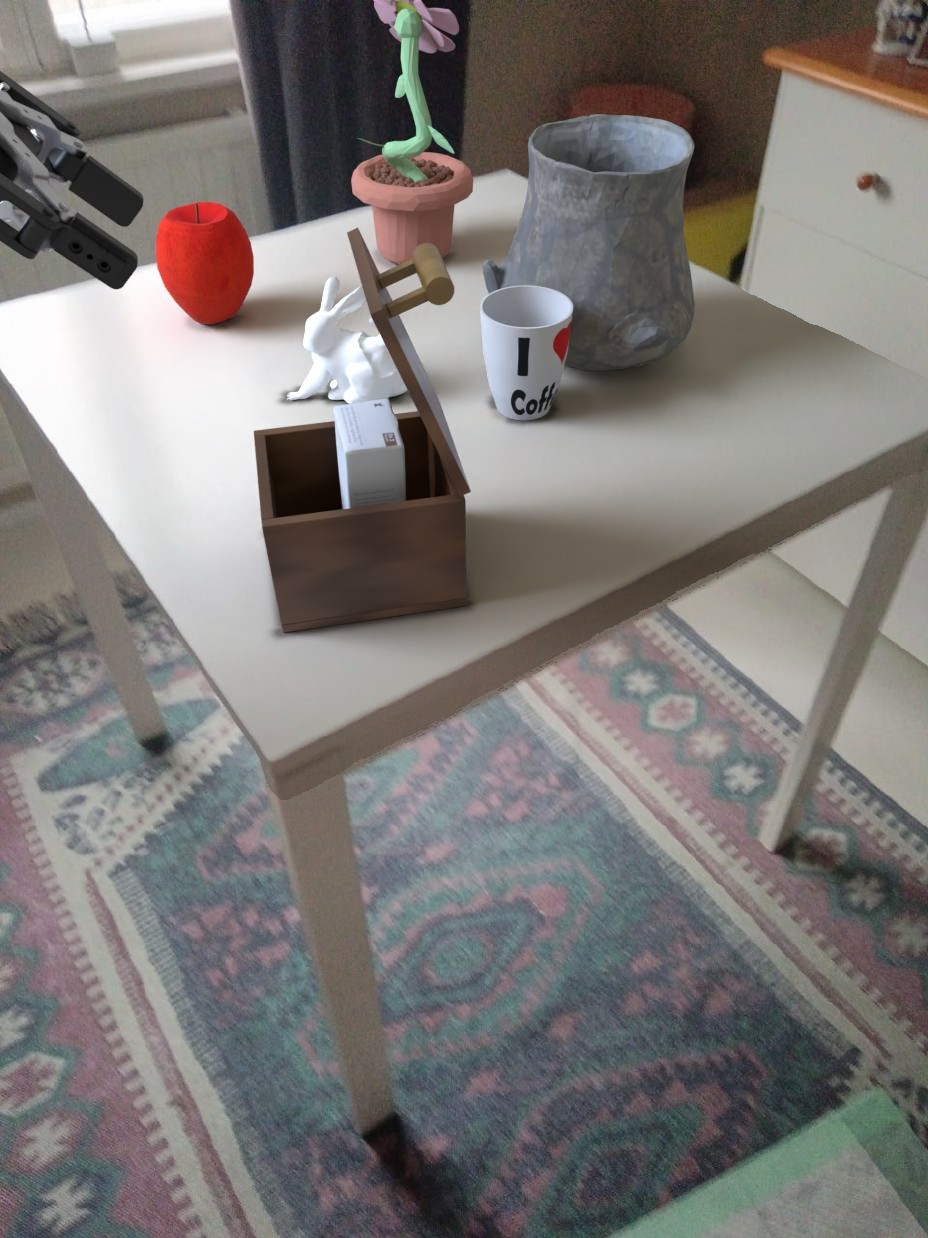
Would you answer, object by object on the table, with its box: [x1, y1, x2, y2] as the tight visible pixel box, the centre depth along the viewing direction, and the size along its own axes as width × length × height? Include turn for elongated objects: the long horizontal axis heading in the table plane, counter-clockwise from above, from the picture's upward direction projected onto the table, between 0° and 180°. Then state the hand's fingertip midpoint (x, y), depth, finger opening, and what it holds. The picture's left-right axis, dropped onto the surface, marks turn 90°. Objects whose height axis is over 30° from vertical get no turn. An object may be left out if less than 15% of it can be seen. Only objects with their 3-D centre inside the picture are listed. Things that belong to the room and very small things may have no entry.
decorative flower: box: [350, 0, 474, 265], centre depth 106 cm, size 15×14×30 cm
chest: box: [253, 410, 468, 633], centre depth 72 cm, size 14×12×10 cm
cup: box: [479, 285, 573, 421], centre depth 89 cm, size 8×8×10 cm
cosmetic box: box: [332, 398, 406, 509], centre depth 71 cm, size 6×4×12 cm
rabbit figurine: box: [286, 276, 408, 404], centre depth 92 cm, size 12×8×10 cm, turn 79°
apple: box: [155, 201, 255, 325], centre depth 101 cm, size 10×10×12 cm
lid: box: [346, 227, 472, 496], centre depth 64 cm, size 14×12×5 cm
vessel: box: [482, 113, 696, 371], centre depth 93 cm, size 22×22×20 cm
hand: (133, 242), depth 56 cm, fingers open, 8 cm apart
